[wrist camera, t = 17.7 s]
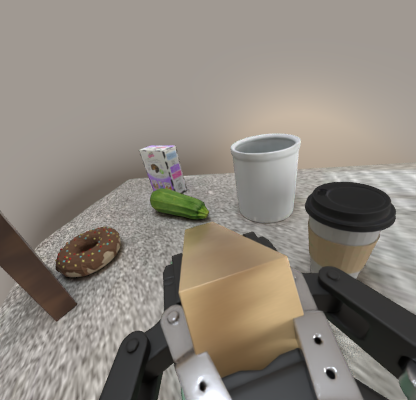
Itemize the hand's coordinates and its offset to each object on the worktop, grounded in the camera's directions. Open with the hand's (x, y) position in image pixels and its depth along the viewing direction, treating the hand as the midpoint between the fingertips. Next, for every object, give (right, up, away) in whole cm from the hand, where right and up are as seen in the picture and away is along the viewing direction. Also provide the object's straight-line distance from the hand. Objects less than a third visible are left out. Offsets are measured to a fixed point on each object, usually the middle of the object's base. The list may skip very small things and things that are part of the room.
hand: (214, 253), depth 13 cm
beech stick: (0, -3, +5) cm, 6 cm away
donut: (-28, -10, +33) cm, 44 cm away
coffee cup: (+20, -9, +18) cm, 28 cm away
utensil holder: (+15, +1, +37) cm, 40 cm away
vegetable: (-8, 0, +43) cm, 43 cm away
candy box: (-15, +7, +59) cm, 61 cm away
